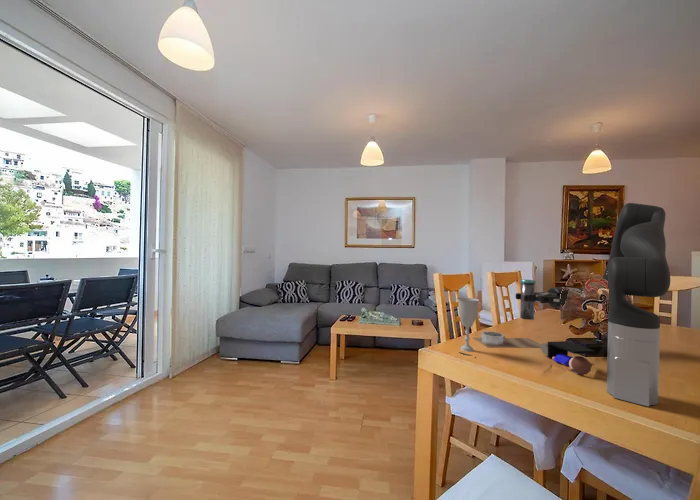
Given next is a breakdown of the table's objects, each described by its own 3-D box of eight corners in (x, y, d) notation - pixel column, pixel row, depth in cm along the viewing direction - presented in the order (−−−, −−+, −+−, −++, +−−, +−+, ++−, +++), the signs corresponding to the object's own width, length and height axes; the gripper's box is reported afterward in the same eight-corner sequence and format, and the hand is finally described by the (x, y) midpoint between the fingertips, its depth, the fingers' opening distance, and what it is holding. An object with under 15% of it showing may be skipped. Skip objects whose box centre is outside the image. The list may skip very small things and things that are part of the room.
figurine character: (539, 363, 101) (575, 376, 86) (538, 338, 102) (573, 348, 87) (559, 363, 101) (599, 377, 86) (558, 339, 102) (597, 348, 87)
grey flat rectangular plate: (527, 341, 121) (527, 338, 121) (549, 351, 109) (549, 347, 109) (471, 340, 120) (471, 337, 120) (487, 350, 108) (487, 347, 108)
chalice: (451, 350, 107) (452, 297, 107) (468, 349, 109) (469, 297, 109) (465, 357, 100) (466, 301, 100) (482, 355, 102) (484, 300, 102)
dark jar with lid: (532, 320, 112) (533, 280, 112) (518, 318, 115) (518, 279, 115) (536, 318, 115) (536, 280, 115) (521, 316, 118) (522, 279, 118)
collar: (500, 346, 109) (500, 338, 109) (478, 342, 114) (478, 333, 114) (507, 342, 114) (507, 334, 114) (485, 338, 120) (486, 330, 120)
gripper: (551, 285, 123) (509, 284, 122) (580, 290, 109) (532, 289, 108) (551, 304, 123) (508, 304, 122) (580, 311, 109) (532, 311, 108)
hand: (520, 297), depth 115 cm, fingers closed on dark jar with lid, 4 cm apart
